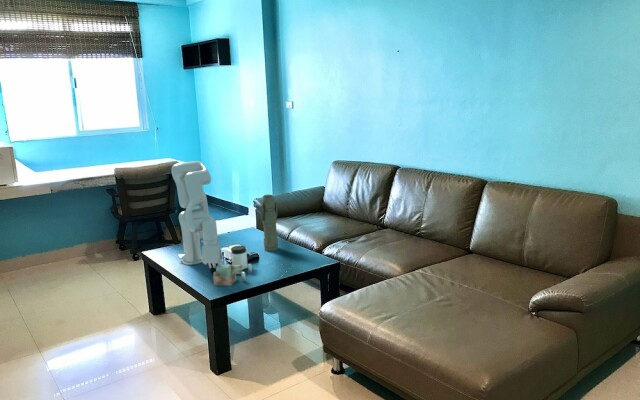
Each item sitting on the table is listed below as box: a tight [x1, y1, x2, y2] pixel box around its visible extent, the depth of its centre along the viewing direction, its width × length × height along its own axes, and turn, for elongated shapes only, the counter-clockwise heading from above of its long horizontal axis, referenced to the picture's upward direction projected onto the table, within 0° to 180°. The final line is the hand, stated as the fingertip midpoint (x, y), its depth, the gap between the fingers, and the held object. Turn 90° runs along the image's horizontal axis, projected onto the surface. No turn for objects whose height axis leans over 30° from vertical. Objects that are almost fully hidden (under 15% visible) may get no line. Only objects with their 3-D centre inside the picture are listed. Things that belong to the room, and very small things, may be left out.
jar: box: [230, 245, 248, 271], centre depth 281 cm, size 9×8×12 cm
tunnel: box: [213, 264, 243, 286], centre depth 266 cm, size 12×18×4 cm, turn 171°
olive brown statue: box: [259, 194, 279, 253], centre depth 309 cm, size 9×12×35 cm
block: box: [216, 263, 232, 277], centre depth 269 cm, size 6×6×6 cm
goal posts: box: [240, 263, 253, 283], centre depth 267 cm, size 2×14×5 cm, turn 171°
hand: (213, 274), depth 270 cm, fingers closed
